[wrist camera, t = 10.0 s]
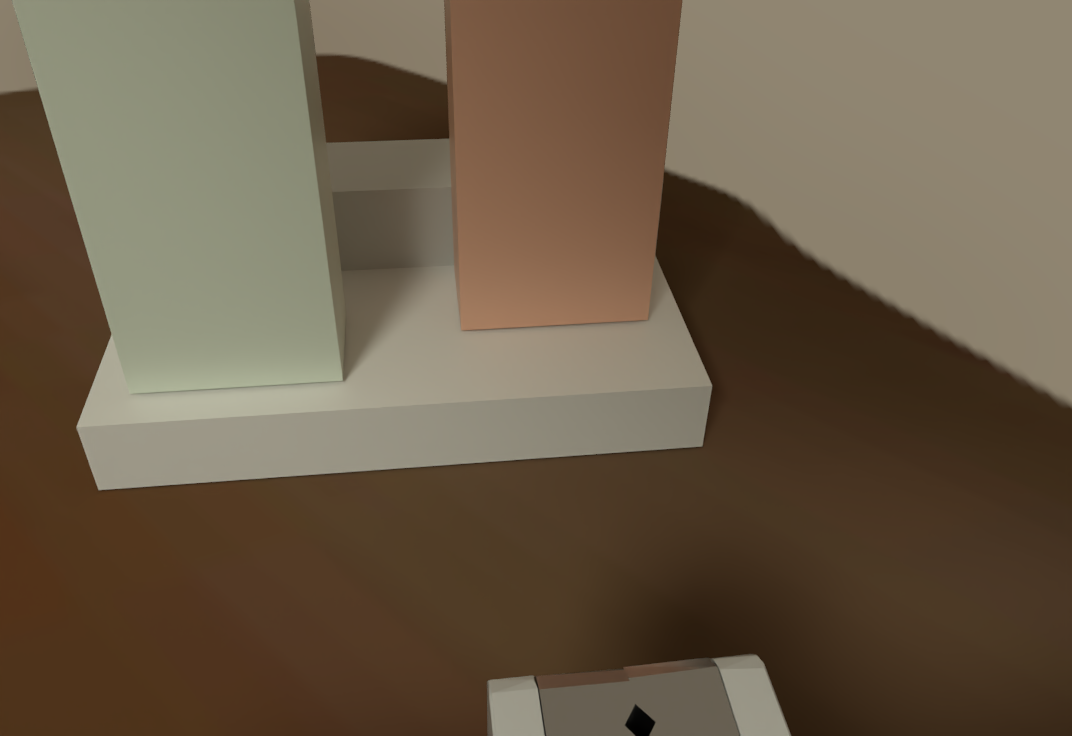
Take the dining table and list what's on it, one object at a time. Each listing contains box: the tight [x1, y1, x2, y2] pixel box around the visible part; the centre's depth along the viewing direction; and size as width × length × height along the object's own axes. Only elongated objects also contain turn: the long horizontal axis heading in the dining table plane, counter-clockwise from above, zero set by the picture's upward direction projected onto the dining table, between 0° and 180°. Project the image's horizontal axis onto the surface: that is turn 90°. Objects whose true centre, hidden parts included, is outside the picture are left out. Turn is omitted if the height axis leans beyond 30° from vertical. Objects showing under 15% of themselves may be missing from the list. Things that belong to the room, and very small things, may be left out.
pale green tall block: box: [12, 0, 346, 394], centre depth 21 cm, size 5×3×12 cm, turn 97°
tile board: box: [77, 139, 712, 490], centre depth 27 cm, size 15×10×4 cm, turn 97°
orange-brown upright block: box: [444, 0, 682, 331], centre depth 23 cm, size 5×3×12 cm, turn 97°
